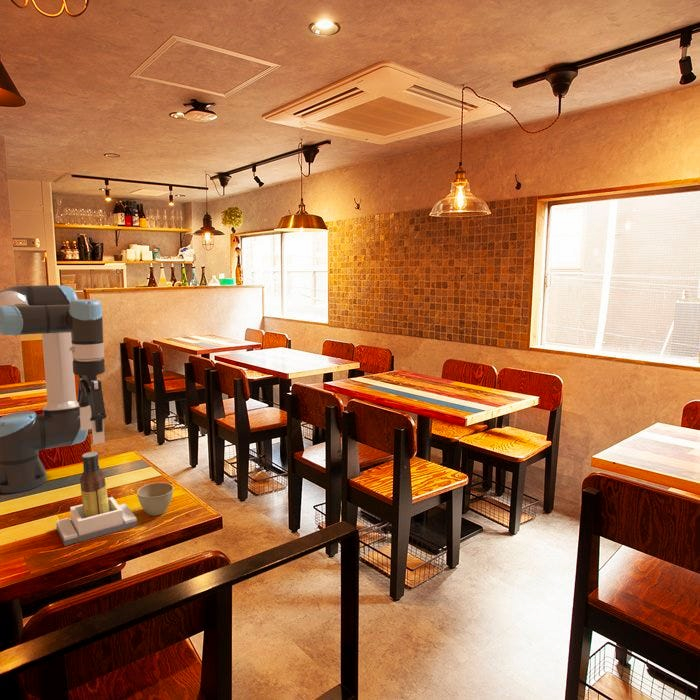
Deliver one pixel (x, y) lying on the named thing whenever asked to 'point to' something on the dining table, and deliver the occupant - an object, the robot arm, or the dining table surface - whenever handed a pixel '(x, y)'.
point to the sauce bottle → (93, 486)
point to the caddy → (95, 523)
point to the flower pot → (155, 497)
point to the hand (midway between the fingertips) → (92, 436)
